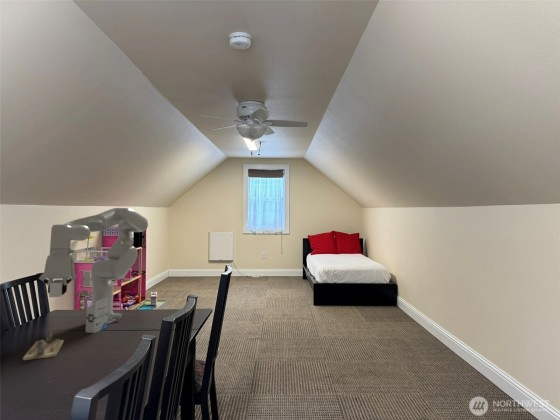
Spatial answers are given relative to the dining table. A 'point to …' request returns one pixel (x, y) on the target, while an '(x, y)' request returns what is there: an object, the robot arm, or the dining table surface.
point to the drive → (56, 288)
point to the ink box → (97, 316)
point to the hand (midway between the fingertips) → (57, 293)
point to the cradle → (44, 348)
